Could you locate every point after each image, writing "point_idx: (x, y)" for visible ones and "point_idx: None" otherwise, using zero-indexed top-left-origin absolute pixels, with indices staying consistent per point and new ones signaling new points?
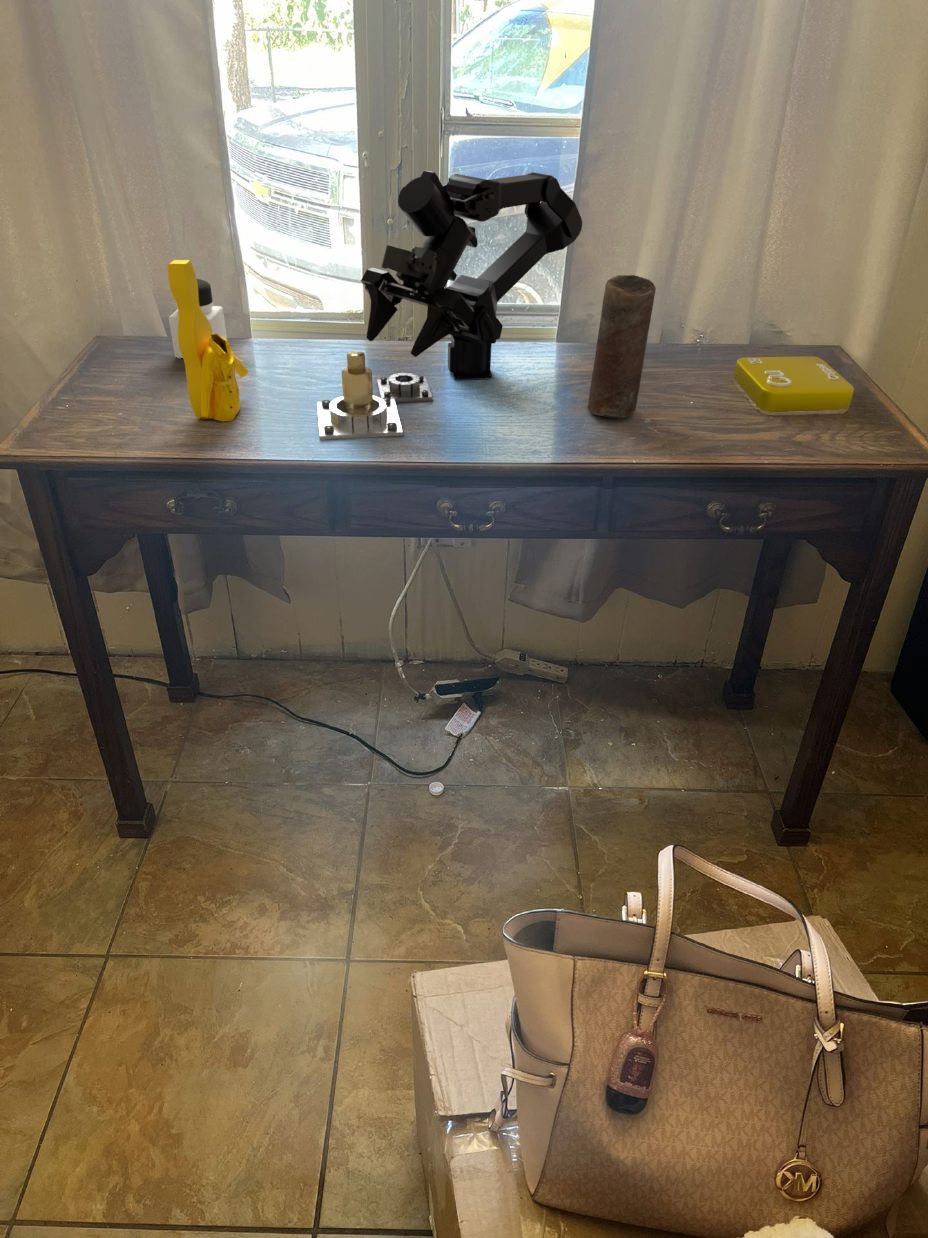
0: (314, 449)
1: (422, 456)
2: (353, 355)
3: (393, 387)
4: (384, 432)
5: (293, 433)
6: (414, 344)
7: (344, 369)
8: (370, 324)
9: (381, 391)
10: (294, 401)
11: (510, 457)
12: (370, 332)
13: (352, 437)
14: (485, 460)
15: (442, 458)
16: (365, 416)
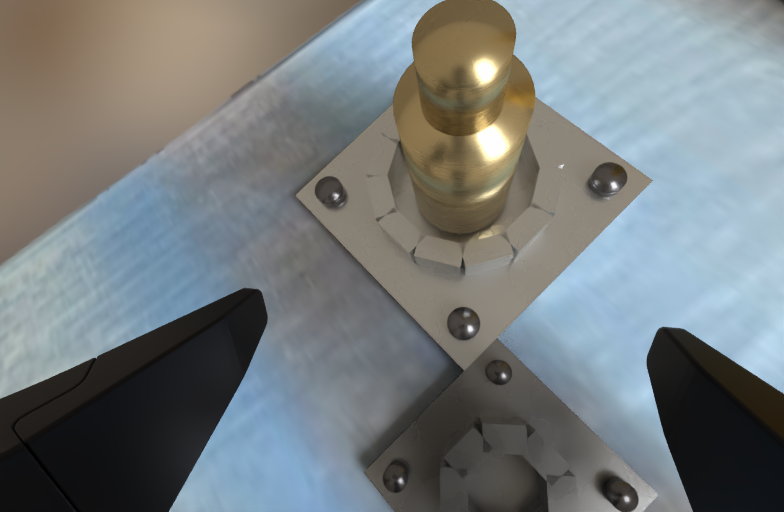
0: None
1: (202, 148)
2: (463, 21)
3: (508, 421)
4: (333, 161)
5: (542, 30)
6: (223, 311)
7: (522, 79)
8: (752, 391)
9: (548, 397)
10: (738, 163)
11: (27, 275)
12: (680, 353)
13: None
14: (72, 225)
15: (159, 170)
16: (385, 130)
